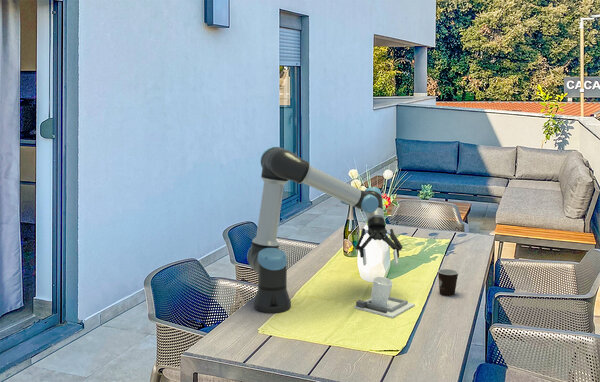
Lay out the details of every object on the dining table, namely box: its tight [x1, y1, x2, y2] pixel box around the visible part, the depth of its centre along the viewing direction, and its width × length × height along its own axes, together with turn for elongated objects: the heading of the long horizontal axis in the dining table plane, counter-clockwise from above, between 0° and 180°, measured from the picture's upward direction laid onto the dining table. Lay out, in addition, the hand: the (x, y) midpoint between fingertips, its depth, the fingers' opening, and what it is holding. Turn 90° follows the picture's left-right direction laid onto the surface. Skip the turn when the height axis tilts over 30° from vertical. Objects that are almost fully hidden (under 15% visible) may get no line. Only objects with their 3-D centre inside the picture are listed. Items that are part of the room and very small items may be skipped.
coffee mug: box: [437, 268, 459, 297], centre depth 276 cm, size 12×9×10 cm
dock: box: [353, 296, 416, 319], centre depth 258 cm, size 18×18×3 cm
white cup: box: [370, 276, 393, 306], centre depth 258 cm, size 8×8×10 cm
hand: (380, 264), depth 264 cm, fingers open, 13 cm apart
